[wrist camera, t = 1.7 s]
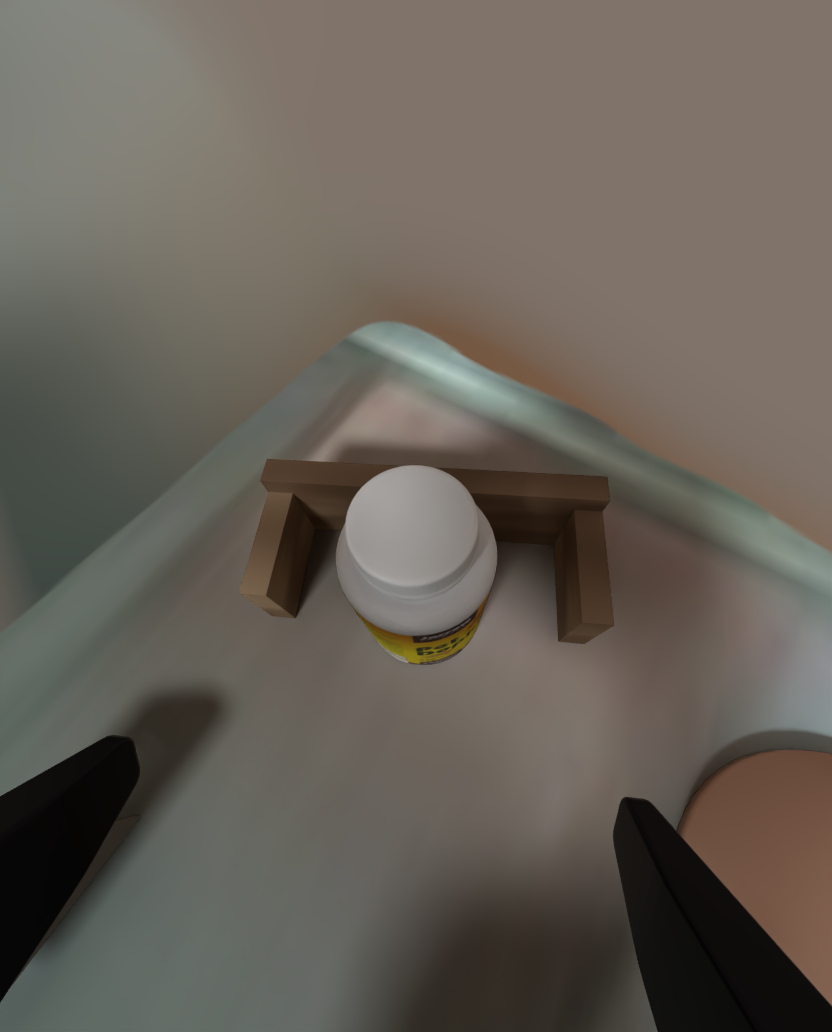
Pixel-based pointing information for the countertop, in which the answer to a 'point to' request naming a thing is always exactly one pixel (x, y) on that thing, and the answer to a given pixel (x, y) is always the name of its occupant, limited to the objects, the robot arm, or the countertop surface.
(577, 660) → the countertop surface
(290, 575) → the open wooden frame
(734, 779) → the terracotta saucer
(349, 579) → the supplement bottle
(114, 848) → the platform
